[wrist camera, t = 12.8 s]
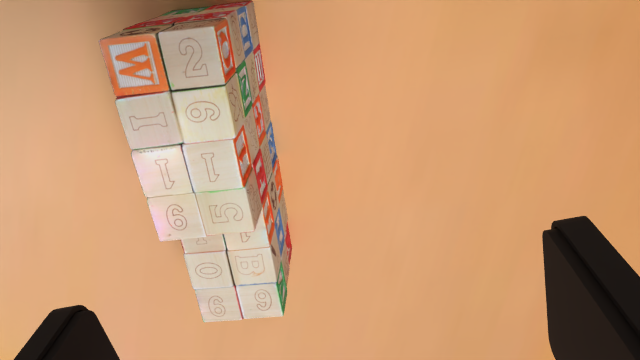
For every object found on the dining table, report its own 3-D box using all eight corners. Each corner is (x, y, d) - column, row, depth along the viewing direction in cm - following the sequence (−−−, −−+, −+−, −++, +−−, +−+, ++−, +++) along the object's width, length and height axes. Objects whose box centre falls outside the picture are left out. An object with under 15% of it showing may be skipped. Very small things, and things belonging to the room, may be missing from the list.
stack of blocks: (294, 248, 46) (279, 348, 34) (226, 253, 46) (189, 354, 35) (253, -3, 37) (214, 24, 25) (168, 8, 37) (94, 38, 26)
